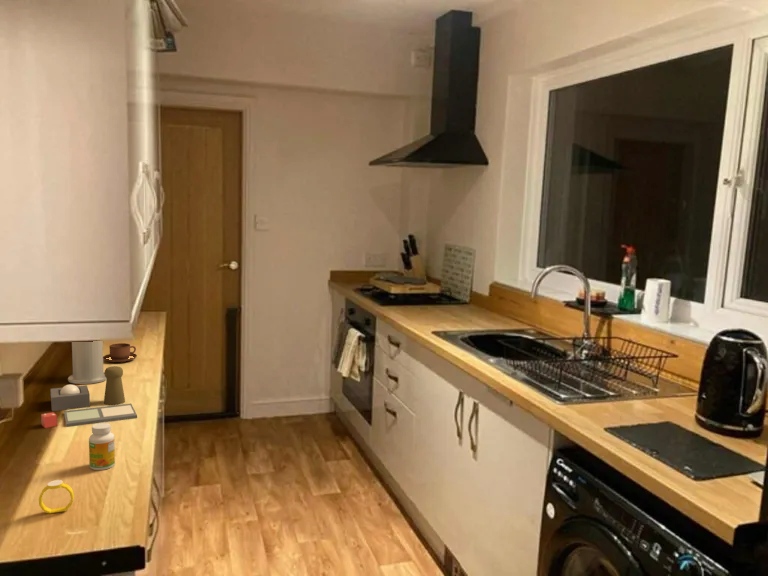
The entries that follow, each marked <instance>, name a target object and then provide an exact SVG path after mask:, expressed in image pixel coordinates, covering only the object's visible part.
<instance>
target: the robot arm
mask: <svg viewBox="0 0 768 576" xmlns="http://www.w3.org/2000/svg"><path fill="white" fill-rule="evenodd" d="M103 342H104V341H93V342H72V341H71V351H72V352H71V356H72V374H71V375H69V376H68V378H67V381H68V383H70V384H73V385H75V384H76V385H88V384H89V385H91V384H97V383H98V384H99V383H101V382H105V381H106V379H107V378H106V377H105V374H104V372H105V371H104V359H103V356H104V346H103V345H104V344H103Z"/></svg>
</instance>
